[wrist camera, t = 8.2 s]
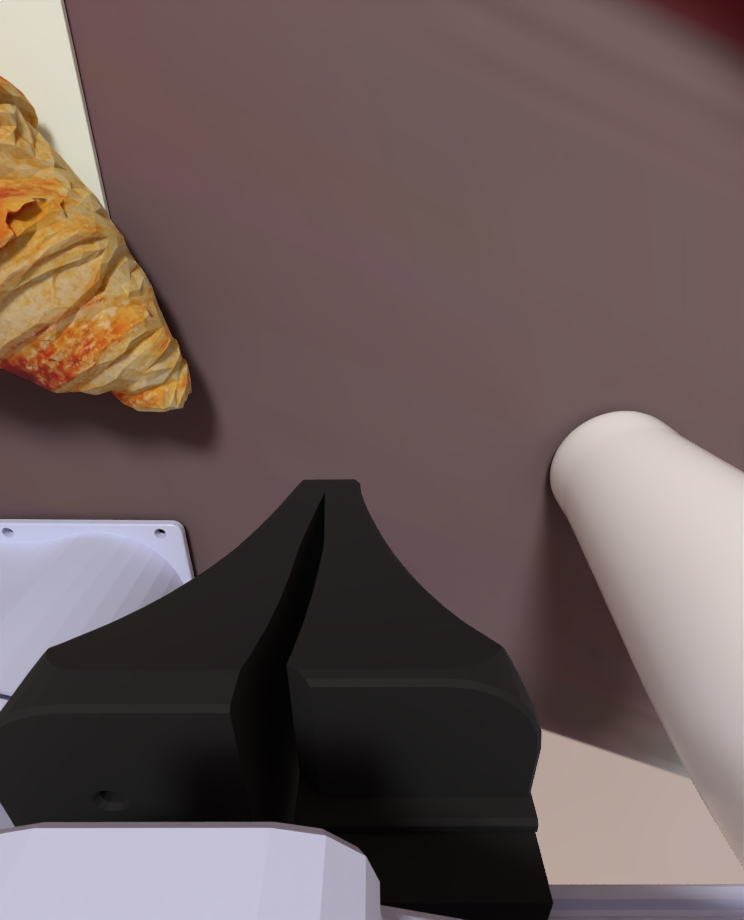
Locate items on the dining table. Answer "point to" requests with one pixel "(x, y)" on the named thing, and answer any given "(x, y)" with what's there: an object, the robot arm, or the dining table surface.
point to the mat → (50, 81)
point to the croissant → (74, 282)
